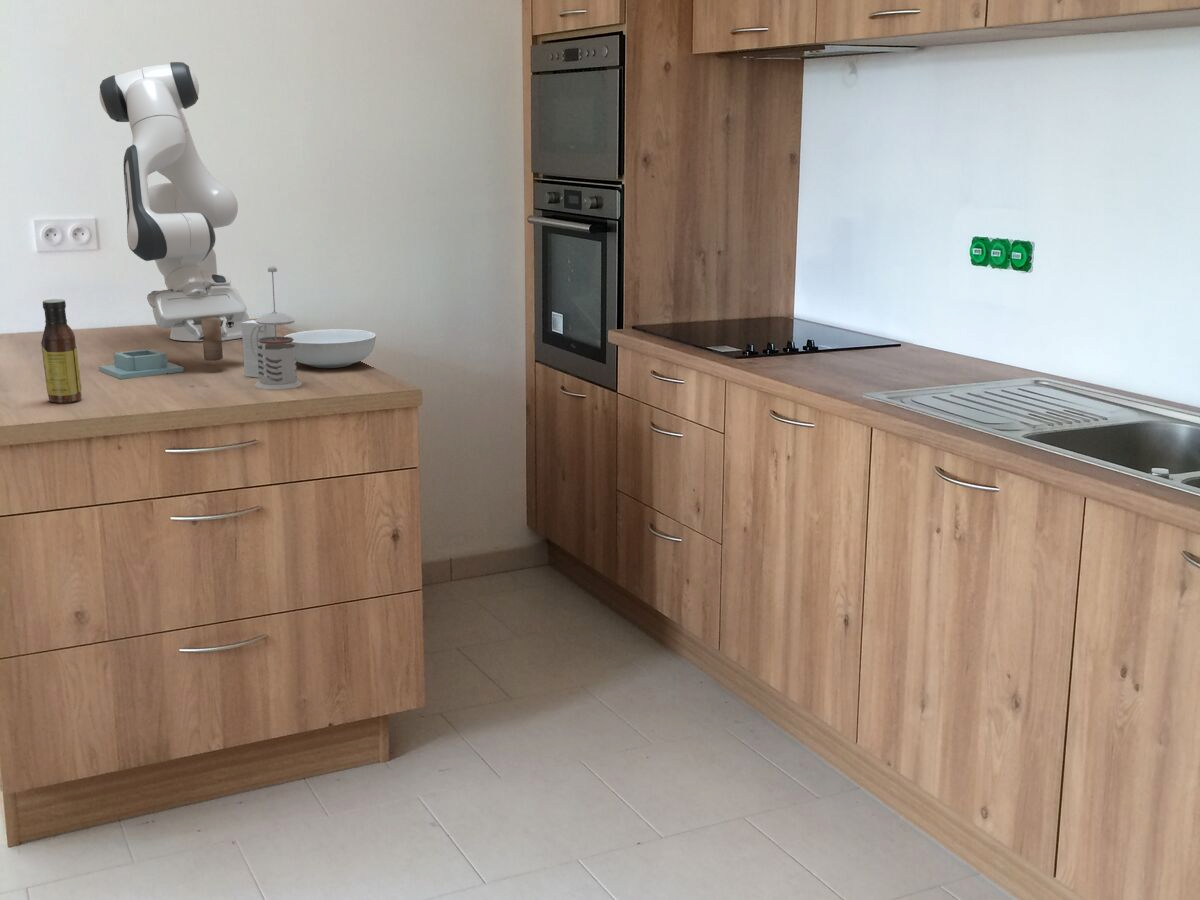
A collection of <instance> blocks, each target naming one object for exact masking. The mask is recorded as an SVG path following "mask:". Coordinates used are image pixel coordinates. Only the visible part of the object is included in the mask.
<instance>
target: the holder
mask: <svg viewBox="0 0 1200 900" xmlns="http://www.w3.org/2000/svg"><path fill="white" fill-rule="evenodd" d="M113 358H114V359H113V361H114V364H111V365H101V366H98V370H99V372H101V373H104V374H107V375H109V376H112V377H115V378H117V379H118V380H119V379H120V380H123V379H132V378H141V377H149V376H157V375H158V376H159V375H166V374H167V373H168V374H175V373H183V372H184V366H181V365H178V364H175V363H171V362H168V359H167V358H168V357H167V353H165V352H163V351H159V350H156V349H145V348H144V349H135V350H126V351H118V352H114V353H113ZM168 374H167V375H168Z"/></svg>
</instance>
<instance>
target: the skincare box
mask: <svg viewBox="0 0 1200 900" xmlns="http://www.w3.org/2000/svg"><path fill="white" fill-rule="evenodd" d="M249 320H250V319H249ZM255 320H256V319H251V320H250V321H246V322H242V323H241V324H242V337H243V338H242V350H243V367H244V376H245V377H249V378H259V371H258V358H257V357H258V353H257V347H258V346H260V345H262V349H265V345H266V344H264V343H260V342H259V341H258V346H257V338H256V336H257V332H258V329H259V327H261V326H262V325H263V324H258V323H256V321H255ZM257 325H258V326H259V327H256V326H257ZM265 326H266V331H264V330H265ZM265 326H263V327H261V328H260V330H261V331H264V332H260V331H259V333H258V340H259V339H260V338H264V337H274V336H275V325H265ZM255 327H256V328H255ZM254 328H255V330H254V331H253V334H252V338H251V333H252V330H253V329H254ZM250 338H251V339H252V347H253V350H254V353H255V354H256V355H257V357H256V356H255V355H254V353H253V351H252V348H251V339H250ZM263 356H264V355H263ZM263 358H264V357H263ZM264 359H265V358H264ZM265 360H266V359H265ZM263 364H264V365H266V363H265V362H263ZM263 369H264V371H266V369H265V368H264V367H263ZM264 376H265V377H267V375H266V374H264Z"/></svg>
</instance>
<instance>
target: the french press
mask: <svg viewBox="0 0 1200 900" xmlns="http://www.w3.org/2000/svg"><path fill="white" fill-rule="evenodd" d="M267 272H268V273H271V277H272V280H271V281H272V282H271V283H272V294H273V295H272V296H273V298H272V299H273V311H272V312H271V313H265V314H263V315H261V316H260V317H258V318H256V319H254V320H255V321H256V323H258V324H263V325H262V326H261V327H263V326H265V325H275V336H274V337H264V338H260V339H259V340H258V333H259V331H260V332H264V331H266V326H265V330H264V331H261V330H260V328H261V327H259V326H258V325H257V326H256V327H259V329H258V332H257V336H256V338H257V346H258V341H259V342H260V343H264V344H266V345H265V349H262V345H260V346H258V347H257V353H258V357H257V355H256V354H255V353H254V350H253V347H252V339H251V338H252V334H253V331H254V330H255V328H256V327H255V328H254V329H253V330H252V333H251V338H250V339H251V348H252V351H253V353H254V355H255V356H256V357H257V358H258V371H259V377H258V381H257V382H256V383H255V384H254V385H255V386H256V387H255V386H254V387H255V388H257V387H259V389H262V388H263V389H264V390H285V389H293V388H297V387H300V386H302V385H303V383H302V382H300V381H299V380H298V377H297V375H298V374H297V373H298V372H297V364H296V363H297V361H296V359H295V357H296V349H295V345H292V344H285V343H290V342H292V341H293V340H294V339H293V338H291V337H289V338H288V337H284V336H280V335H279V336H277V326H284V325H291V324H294V323H295V321H296V319H294V318H293V317H292V316H290V315H288V314H286V313H283V312H282V313H281V312H277V311H276V304H275V303H276V302H275V300H276V299H275V283H274V273H277V272H278V268H277V267H276V266H274V265H270V266H269V267H267ZM285 348H287V349H285ZM263 355H264V356H263ZM263 357H264V358H265V359H266V360H265V359H264V358H263ZM263 362H265V363H266V365H264V364H263ZM263 367H264V368H265V369H266V371H264V369H263ZM264 374H266V375H267V377H265V376H264Z"/></svg>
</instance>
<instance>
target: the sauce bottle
mask: <svg viewBox="0 0 1200 900" xmlns="http://www.w3.org/2000/svg"><path fill="white" fill-rule="evenodd" d="M66 307H67V303H66V300H65V299H63V298H62V299H61V298H53V299H45V300H42V308H43V310H44V311H43V312H44V317H45V321H44V323H45V326H44V329H43V333H42V334H43V335H42V338H41V342H40V344H41V353H42V361H43V368H44V375H45V376H44V377H45V386H46V391H47V393H46V394H47V396H48V400H49V402H51V403H55V404H56V403H57V404H68V403H74V402H78V401H80V400H81V399H82V381H81V374H80V364H79V356H78V347H77V345H76V336H75V333H74V331H73V330H72V328H71V327H70V325H68V320H67V314H66V313H67V312H66Z"/></svg>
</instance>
